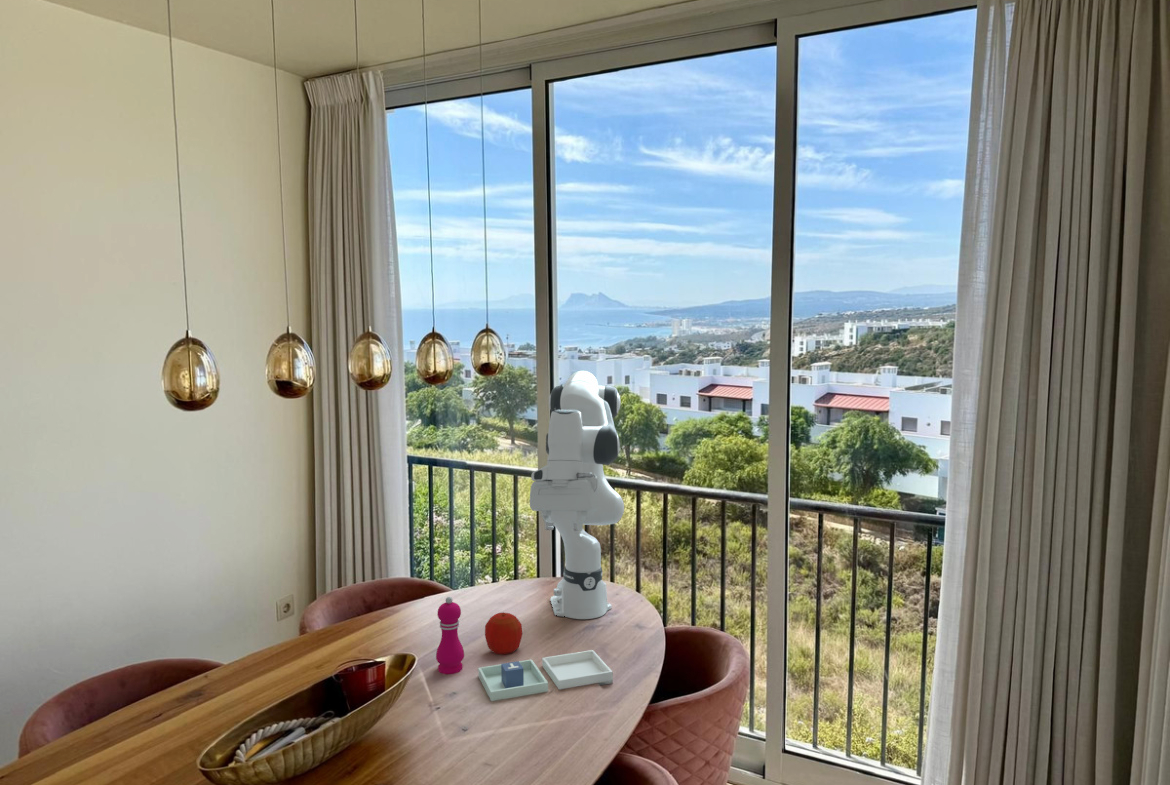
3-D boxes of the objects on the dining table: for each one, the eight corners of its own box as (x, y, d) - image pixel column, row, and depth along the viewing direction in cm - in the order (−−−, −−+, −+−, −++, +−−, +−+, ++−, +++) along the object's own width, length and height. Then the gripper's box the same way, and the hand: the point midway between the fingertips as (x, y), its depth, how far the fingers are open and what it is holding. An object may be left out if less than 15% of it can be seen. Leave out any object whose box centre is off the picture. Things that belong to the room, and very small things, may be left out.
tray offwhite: (542, 668, 204) (542, 657, 204) (592, 660, 209) (592, 649, 209) (559, 692, 191) (559, 680, 191) (612, 683, 196) (612, 671, 195)
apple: (528, 648, 217) (528, 608, 216) (509, 662, 208) (508, 620, 207) (498, 642, 222) (497, 602, 221) (478, 655, 213) (477, 614, 212)
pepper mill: (458, 679, 199) (457, 602, 197) (432, 676, 200) (430, 600, 198) (468, 666, 206) (467, 593, 204) (442, 664, 207) (441, 591, 205)
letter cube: (501, 681, 195) (501, 663, 195) (518, 678, 197) (518, 660, 197) (505, 688, 191) (505, 670, 191) (523, 685, 193) (523, 667, 192)
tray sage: (478, 679, 198) (478, 667, 198) (532, 670, 203) (531, 659, 203) (491, 704, 185) (491, 692, 185) (548, 694, 190) (548, 682, 190)
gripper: (605, 473, 188) (604, 531, 186) (543, 475, 201) (542, 529, 199) (588, 471, 183) (587, 531, 181) (526, 473, 196) (524, 529, 194)
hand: (563, 530), depth 190 cm, fingers open, 8 cm apart
